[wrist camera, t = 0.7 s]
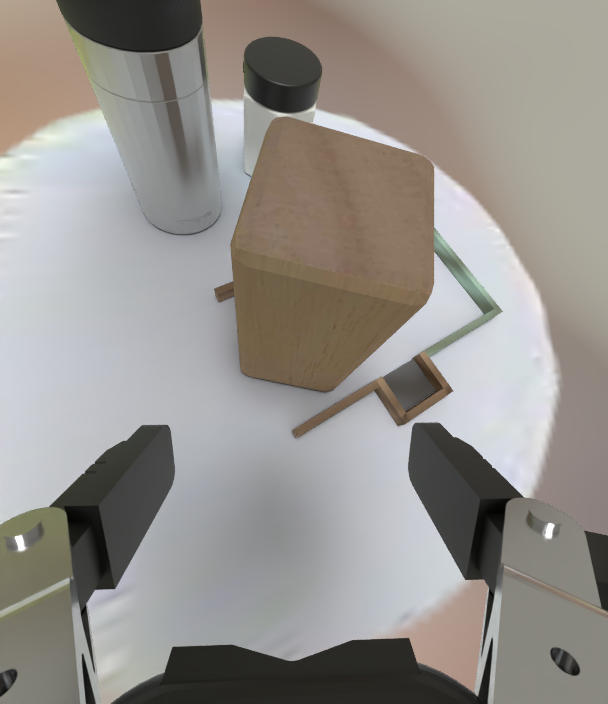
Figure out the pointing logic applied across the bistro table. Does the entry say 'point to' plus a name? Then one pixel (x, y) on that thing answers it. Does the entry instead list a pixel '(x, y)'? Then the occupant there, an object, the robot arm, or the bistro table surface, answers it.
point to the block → (328, 252)
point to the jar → (276, 88)
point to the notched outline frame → (420, 372)
